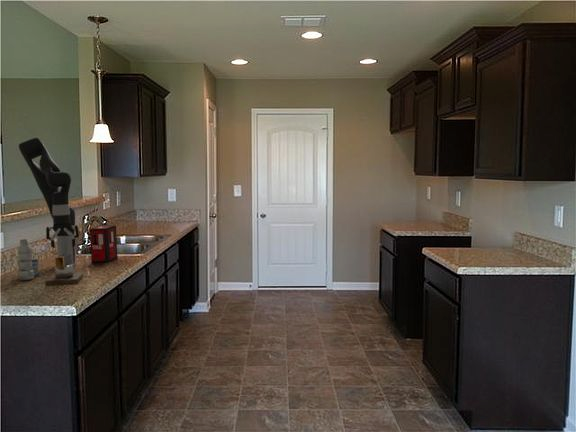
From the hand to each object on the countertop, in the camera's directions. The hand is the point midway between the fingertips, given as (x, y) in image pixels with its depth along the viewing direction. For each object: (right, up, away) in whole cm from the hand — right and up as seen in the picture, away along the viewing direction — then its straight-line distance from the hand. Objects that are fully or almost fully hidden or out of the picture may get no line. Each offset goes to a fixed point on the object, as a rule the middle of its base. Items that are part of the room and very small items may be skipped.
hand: (63, 247), depth 238 cm
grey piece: (0, -14, +1) cm, 14 cm away
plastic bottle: (-20, -17, +5) cm, 27 cm away
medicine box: (-23, -16, +13) cm, 31 cm away
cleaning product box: (0, -12, +53) cm, 54 cm away
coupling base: (0, -17, +1) cm, 17 cm away
